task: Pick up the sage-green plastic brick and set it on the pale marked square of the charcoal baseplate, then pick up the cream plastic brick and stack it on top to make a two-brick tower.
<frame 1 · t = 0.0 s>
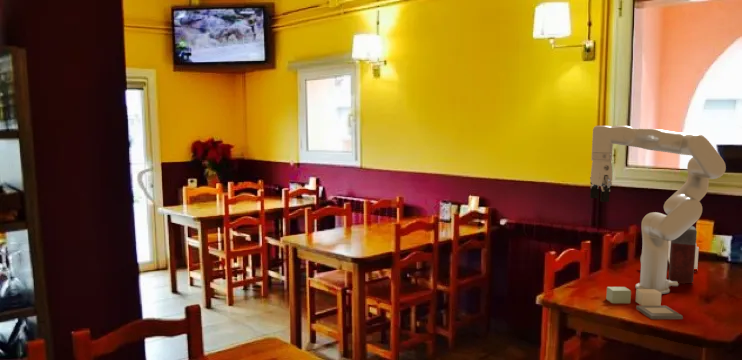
hand: (599, 199, 232), 37 cm above the table, tool pointing down, fingers open, 9 cm apart
sage brick: (618, 301, 221), on the table
baseplate: (658, 313, 207), on the table
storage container: (681, 264, 282), on the table
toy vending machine: (680, 280, 252), on the table
cream brick: (648, 304, 219), on the table
donut: (651, 271, 267), on the table
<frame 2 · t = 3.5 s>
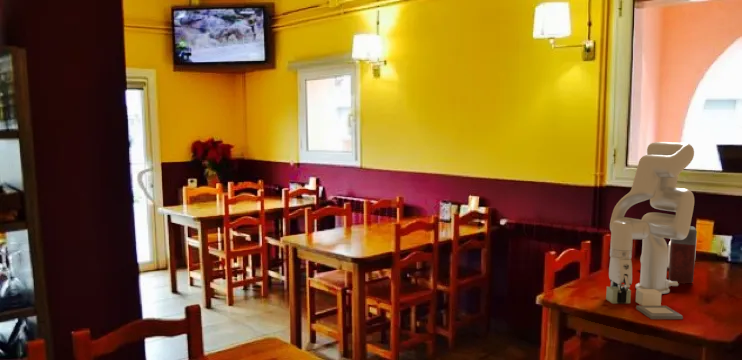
hand: (618, 299, 221), 0 cm above the table, tool pointing down, fingers closed on sage brick, 5 cm apart
sage brick: (618, 301, 221), on the table, touching gripper
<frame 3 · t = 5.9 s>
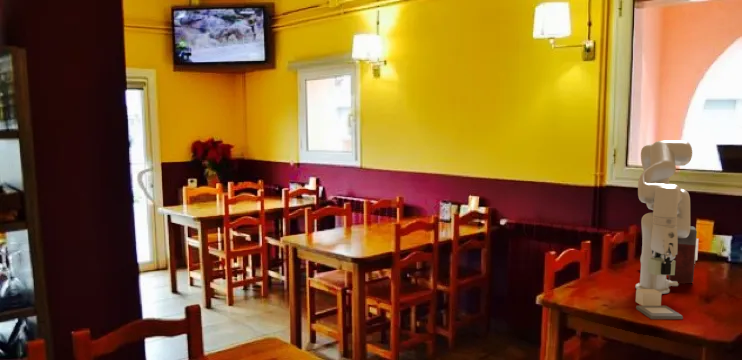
hand: (661, 271, 205), 15 cm above the table, tool pointing down, fingers closed on sage brick, 5 cm apart
sage brick: (660, 273, 206), point 15 cm above the table, touching gripper
when the fingers open (3 cm above the table, at t = 8.5 s): sage brick drops 1 cm, resting on baseplate.
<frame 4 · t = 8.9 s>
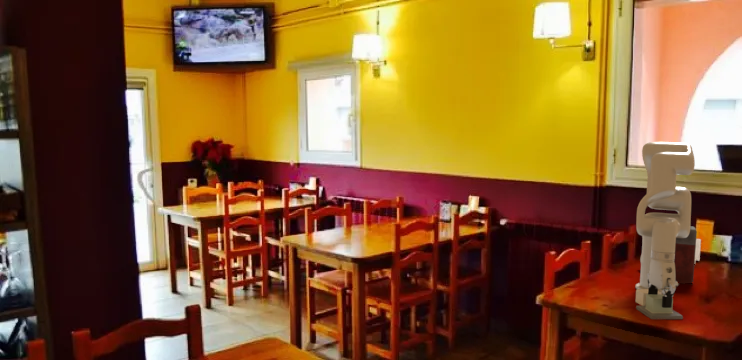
hand: (659, 303, 207), 4 cm above the table, tool pointing down, fingers open, 9 cm apart
sage brick: (658, 310, 207), point 1 cm above the table, touching baseplate
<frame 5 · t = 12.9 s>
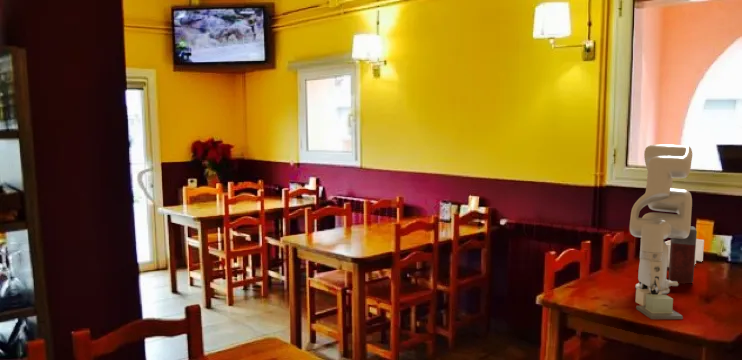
hand: (648, 302, 218), 1 cm above the table, tool pointing down, fingers closed on cream brick, 5 cm apart
cream brick: (647, 303, 218), on the table, touching gripper
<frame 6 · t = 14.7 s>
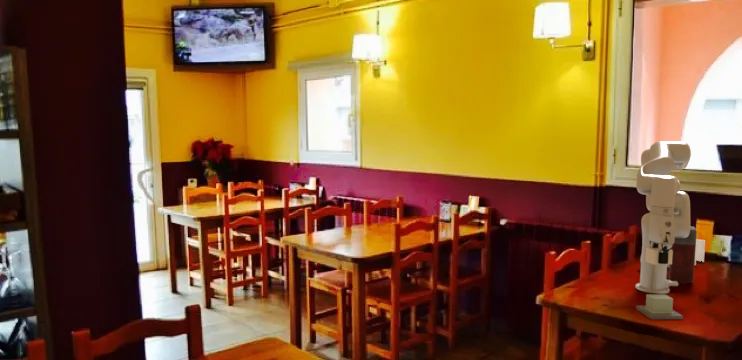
hand: (658, 261, 208), 18 cm above the table, tool pointing down, fingers closed on cream brick, 5 cm apart
cream brick: (658, 262, 208), point 18 cm above the table, touching gripper
when the fingers open (8 cm above the table, at t = 17.0 s): cream brick drops 1 cm, resting on sage brick.
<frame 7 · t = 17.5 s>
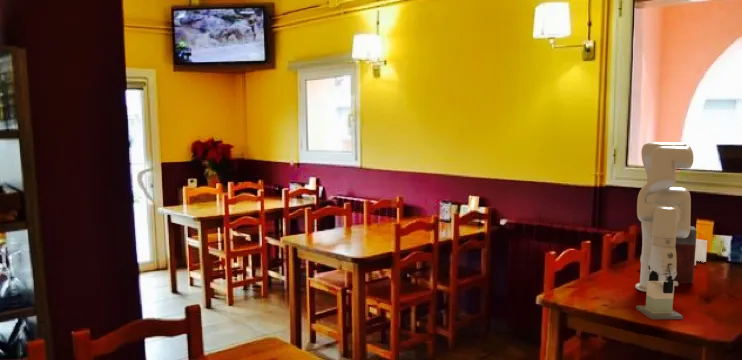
hand: (660, 289, 206), 9 cm above the table, tool pointing down, fingers open, 9 cm apart
sage brick: (658, 310, 207), point 1 cm above the table, touching baseplate, cream brick
cream brick: (659, 296, 206), point 6 cm above the table, touching sage brick
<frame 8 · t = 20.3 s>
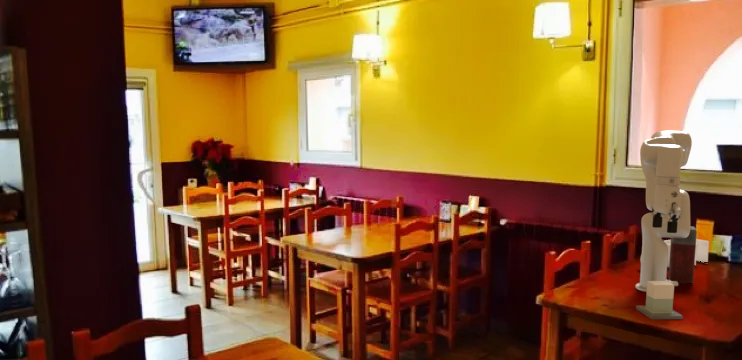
hand: (664, 230, 204), 30 cm above the table, tool pointing down, fingers open, 9 cm apart
at the end: sage brick 0.1 cm off-centre on the baseplate, point 1.3 cm above the baseplate's base; cream brick 0.0 cm off-centre on the sage brick, point 5.0 cm above the sage brick's base; cream brick tilted 0° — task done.
